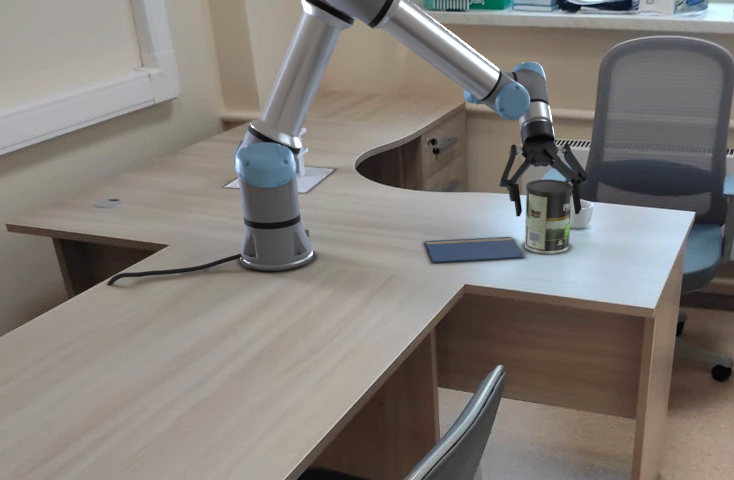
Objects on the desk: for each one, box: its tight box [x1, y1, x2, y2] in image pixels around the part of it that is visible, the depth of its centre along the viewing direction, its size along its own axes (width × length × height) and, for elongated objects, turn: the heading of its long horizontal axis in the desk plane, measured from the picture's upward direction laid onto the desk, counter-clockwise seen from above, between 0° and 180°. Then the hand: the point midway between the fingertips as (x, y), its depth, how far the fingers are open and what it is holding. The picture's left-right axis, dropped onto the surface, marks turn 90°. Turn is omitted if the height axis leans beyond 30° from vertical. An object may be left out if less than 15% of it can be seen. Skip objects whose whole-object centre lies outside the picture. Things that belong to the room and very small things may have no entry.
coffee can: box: [523, 179, 573, 255], centre depth 189 cm, size 10×10×14 cm
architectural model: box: [224, 127, 336, 194], centre depth 231 cm, size 23×24×18 cm
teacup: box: [570, 198, 594, 230], centre depth 205 cm, size 10×8×5 cm
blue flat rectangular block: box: [425, 236, 524, 264], centre depth 189 cm, size 20×13×1 cm, turn 102°
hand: (549, 212), depth 187 cm, fingers open, 13 cm apart
